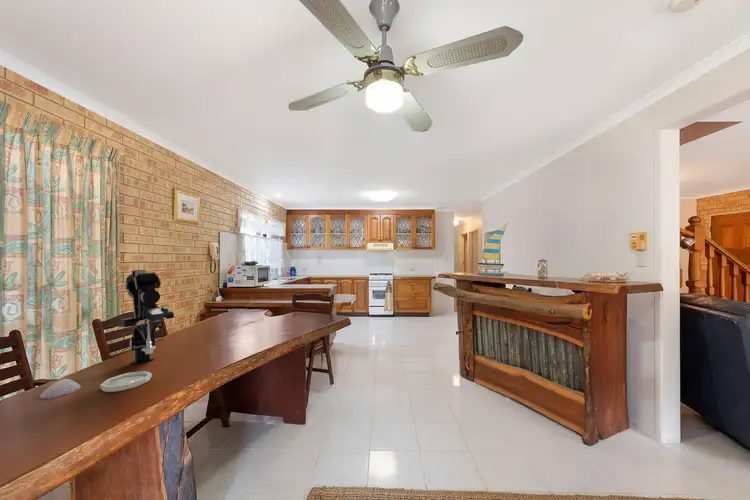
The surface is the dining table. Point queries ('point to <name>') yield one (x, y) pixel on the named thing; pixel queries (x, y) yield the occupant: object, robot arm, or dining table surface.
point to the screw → (148, 341)
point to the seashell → (60, 389)
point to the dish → (125, 381)
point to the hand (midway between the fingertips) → (148, 338)
